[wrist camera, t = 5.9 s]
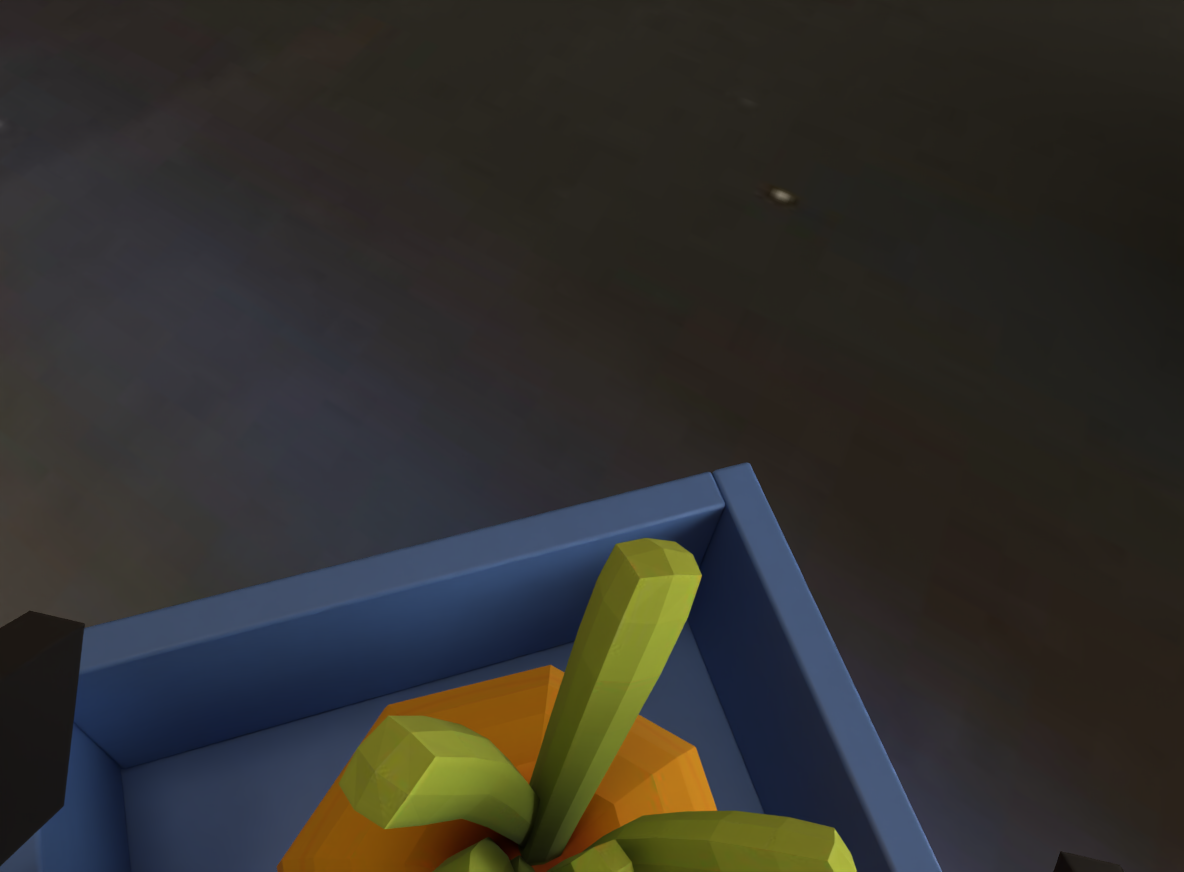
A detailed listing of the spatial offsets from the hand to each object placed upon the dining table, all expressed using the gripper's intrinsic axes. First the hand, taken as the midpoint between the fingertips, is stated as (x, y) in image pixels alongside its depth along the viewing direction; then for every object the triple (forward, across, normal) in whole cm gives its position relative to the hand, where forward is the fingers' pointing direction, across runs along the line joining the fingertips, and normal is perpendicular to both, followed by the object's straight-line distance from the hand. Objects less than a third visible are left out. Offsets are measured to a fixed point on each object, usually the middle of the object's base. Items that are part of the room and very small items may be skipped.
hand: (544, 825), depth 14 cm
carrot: (+4, 0, -6) cm, 8 cm away
